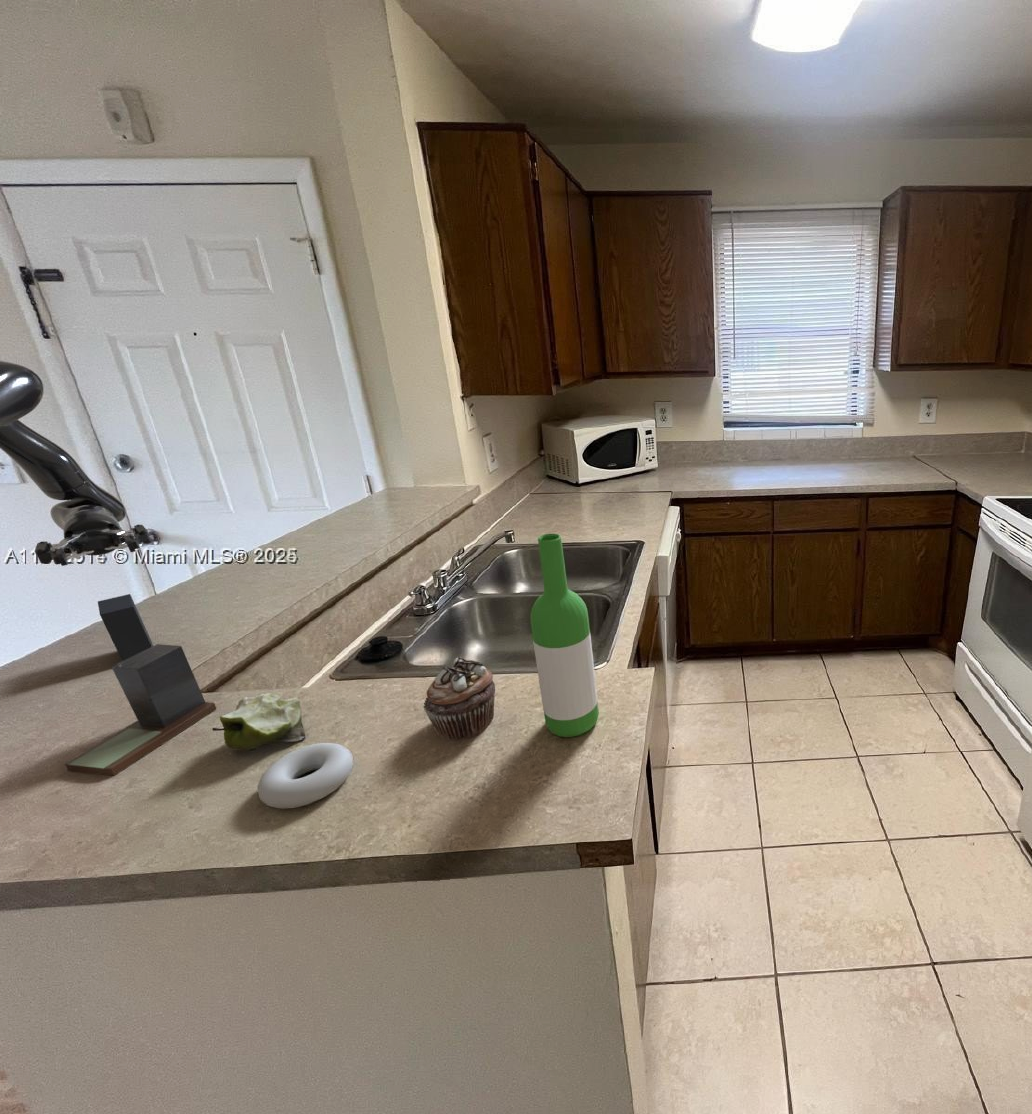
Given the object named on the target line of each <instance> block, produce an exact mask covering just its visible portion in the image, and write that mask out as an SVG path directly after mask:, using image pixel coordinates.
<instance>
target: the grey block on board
mask: <svg viewBox="0 0 1032 1114" xmlns="http://www.w3.org/2000/svg"><path fill="white" fill-rule="evenodd" d="M111 669H112V671H113V673H114V676H115V677H116V680H117V681H118V683H119V685H120V687H121V689H122V691H123V693H124V696H125V698H126V700H127V702H128V703H129V705H130V708H131V710H132V711H133V713H134V715H135V718H136V719H137V720H136V721H134V722H132V723H131V724H129V725H128V726H127V725H126V727H124V728H122V729H121V730H119V731H117V732H116V733H114V734H112V735H111V736H109V737H107V738H106V739H104V740H102V741H100V742H98V743H97V744H95V745H93V746H92V747H90V748H89V749H87V750H85V751H83V752H82V753H80V754H78V755H76V756H75V757H73V758H72V759H70V760H68V761H67V762H65V763H64V766H65V768H66V769H67V771H68V772H77V773H84V774H85V773H87V774H96V775H106V776H116V775H118V774H119V773H121V772H122V771H123V770H125V769H127V768H129V767H130V766H131V765H133V764H135V763H136V762H138V761H139V760H141V759H142V758H144V757H145V756H147V755H148V754H150V753H151V752H153V751H155V750H156V749H157V748H159V747H160V746H162V745H163V744H166V743H167V742H168V741H170V740H171V739H174V737H176V736H177V735H179V734H180V733H183V732H184V731H185V730H187V729H188V728H190V727H191V726H193V725H194V724H196V723H198V722H199V721H201V720H202V719H204V718H206V717H207V716H208V715H210V714H211V713H212V712H214V711H216V710H217V706H216V704H215V702H210V701H206V700H205V698H204V696H203V693H202V691H201V688H200V687H199V683H198V681H197V679H196V677H195V674H194V672H193V670H192V668H191V665H190V663H189V661H188V658H187V656H186V654H185V651H184V649H183V647H182V646H181V645H173V644H161V643H156V644H154V645H153V646H152V647H150V648H148V649H146V650H144V651H142V652H140V653H138V654H136V655H134V656H132V657H130V658H128V659H126V660H124V661H122V660H121V661H120V662H118V663H116V664H114V665H112V666H111Z"/></svg>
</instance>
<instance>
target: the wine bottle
mask: <svg viewBox="0 0 1032 1114" xmlns="http://www.w3.org/2000/svg"><path fill="white" fill-rule="evenodd" d="M537 542H538V549H539V550H538V551H539V559H540V567H541V574H542V582H543V583H542V584H543V593H542V594H541V595H539V597H537V598H536V600H535V602H534V604H533V605H532V607H531V610H530V628H531V635H532V642H533V649H534V656H535V663H536V670H537V676H538V677H537V678H538V684H539V691H540V697H541V703H542V711H543V714H544V722H545V725H546V728H547V730H548V731H549V732H551V734H553V735H555V736H558V737H561V738H572V737H578V736H580V735H584V734H585V733H587V732H588V731H590V730H591V729H592V728H593V727H594V726H595V725H596V723H597V721H598V718H599V713H600V712H599V702H598V701H599V700H598V691H597V681H596V674H595V673H596V672H595V662H594V655H593V646H592V645H593V643H592V636H591V629H590V628H591V627H590V619H589V611H588V608H587V605H586V603H585V602H584V600H583V599H582V597H581V596H579V594H577V593H576V592H574V591H573V590H570V588H569V587H568V580H567V574H566V573H567V572H566V565H565V557H564V550H563V549H564V548H563V541H562V536H561V535H559V534H557V533H545V534H542V535H540V536H539V537H538V538H537Z"/></svg>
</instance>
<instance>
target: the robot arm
mask: <svg viewBox="0 0 1032 1114" xmlns="http://www.w3.org/2000/svg"><path fill="white" fill-rule="evenodd" d="M44 395H45V387H44V383H43V380H42V379H41V377H40V376H39V374H37V373H36V372H35V371H34V370H33V369H30V368H28V367H26V366H24V365H20V364H18V363H13V362H9V361H4V360H0V450H1V451H3V452H4V453H5V454H6V455H7V456H8V457H9V458H11V459H12V460H13V462H15V463H16V464H17V465H18V466H19V467H20V468H21V470H23V472H25V474H26V475H27V476H28V477H29V478H30V479H31V480H32V482H33V483H34V485H36V486H37V488H38V489H40V491H41V492H42V494H44V495H45V496H47V497H48V498H50V499H52V500H54V501H55V500H56V501H61V502H58V503H56V504H54V505H52V507H51V509H50V517H51V519H52V521H53V522H54V523H55V525H56V526H57V527H58V528H60V529H61V530H62V531H63V539H62V540H60V541H59V542H58V543H53V544H52V543H51V542H48V541H44V540H43V541H39V542H37V543H36V546H35V549H34V553H35V555H36V557H37V559H38V561H39V563H40V564H41V565H44V564H45V565H46V564H47V565H48V564H50V563H52V561H53V563H54V565H61V567H65V566H68V565H69V563H68V560H69V559H79V558H80V557H83V556H103V555H107V554H110V553H112V552H115V550H125V549H128V550H129V553H134V552H136V550H137V549H140V544H144V545H149V544H152V543H153V540H152V539H151V537H150V535H149V532H148V529H147V528H146V527H145V526H144V525H143V524H136V525H134V526H133V527H132V528H131V529H130V530H124V529H122V528H123V527H121V525H120V522H122V521H124V519H125V518H126V516H127V508H126V507H125V505H124V503H123V502H122V501H121V500H120V499H119V498H118V497H116V496H115V495H114V494H112V493H110V492H109V491H107V490H106V489H105V488H102V487H101V486H99V484H97V483H95V481H94V480H92V479H91V478H90V477H89V476H88V475H87V473H86V472H85V471H84V470H83V468H82V467H81V466H80V464H79V463H78V462H77V461H76V459H75V457H73V456H72V455H71V454H70V453H68V452H67V451H66V450H65V449H64V448H62V447H61V446H59V444H57V443H55V442H53V441H52V440H50V439H49V438H47V437H46V436H44V435H42V434H40V433H39V432H37V431H36V430H33V428H31V427H29V426H28V425H26V424H25V423H23V422H22V421H21V418H23V417H26V416H27V415H29V414H30V413H32V412H33V411H35V409H36V408H37V407H38V406H39V405H40V404H41V402H42V401H43V399H44Z"/></svg>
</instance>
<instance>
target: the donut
mask: <svg viewBox="0 0 1032 1114" xmlns="http://www.w3.org/2000/svg"><path fill="white" fill-rule="evenodd" d="M353 765H354V758H353V755H352V752H351V751H350V749H348V748H347V747H345V746H344V745H342V744H339V743H334V742H317V743H313V744H309V745H305V746H302V747H300V748H297V749H294V750H292V751H290V752H288V753H286V754H285V755H283V756H281V757H279V758H278V759H277V760H276V761H275V762H273V763H271V764H270V766H269V767H268V768H267V769H266V770H265V771H264V772H263V773H262V774H261V776H260V779H259V782H258V784H257V793H258V798H259V799H260V801H261V802H263V803H264V804H266V806H269V807H271V808H276V809H280V810H282V809H283V810H284V809H296V808H300V807H303V806H307V805H310V804H313V803H314V802H317V801H319V800H322V799H324V798H326V797H327V796H329V795H330V794H331V793H333V792H335V791H336V790H337V789H338V788H339V787H340V786H341V785H343V784H344V782H346V780H347V779H348V777H349V776H350V774H351V773H352V770H353ZM311 771H314V772H312V773H311V774H308V775H305V776H303V777H301V776H302V775H304V774H306V773H309V772H311ZM299 777H300V778H299Z"/></svg>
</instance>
